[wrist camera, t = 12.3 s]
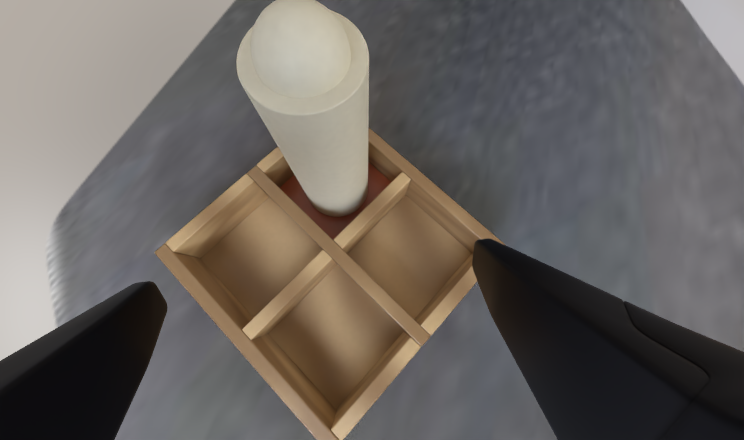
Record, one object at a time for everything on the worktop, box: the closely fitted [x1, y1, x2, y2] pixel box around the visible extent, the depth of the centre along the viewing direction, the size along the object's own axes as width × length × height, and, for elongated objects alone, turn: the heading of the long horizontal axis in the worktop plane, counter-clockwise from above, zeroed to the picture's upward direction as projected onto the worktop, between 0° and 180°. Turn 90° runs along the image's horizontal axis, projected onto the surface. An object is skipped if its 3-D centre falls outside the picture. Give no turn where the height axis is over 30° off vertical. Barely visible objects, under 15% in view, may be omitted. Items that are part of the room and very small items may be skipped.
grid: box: [155, 127, 505, 440], centre depth 19 cm, size 15×15×3 cm
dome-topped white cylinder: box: [236, 0, 369, 217], centre depth 15 cm, size 4×4×14 cm
